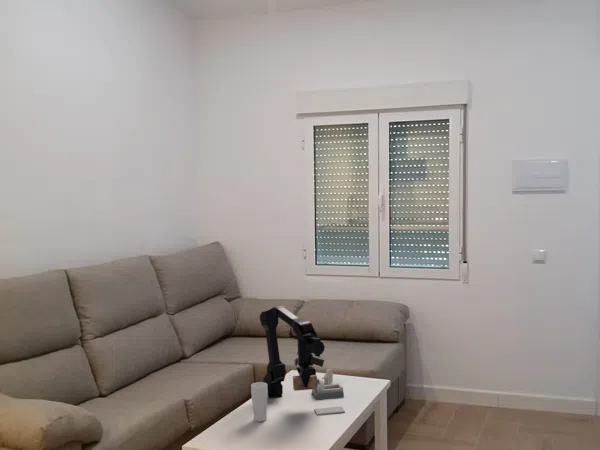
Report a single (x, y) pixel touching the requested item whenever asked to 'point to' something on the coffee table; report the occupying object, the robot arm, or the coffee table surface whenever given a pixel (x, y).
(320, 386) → the toggle
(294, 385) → the brown rectangular block
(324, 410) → the pad
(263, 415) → the drinking glass
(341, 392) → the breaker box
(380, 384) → the coffee table surface
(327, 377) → the architectural model
